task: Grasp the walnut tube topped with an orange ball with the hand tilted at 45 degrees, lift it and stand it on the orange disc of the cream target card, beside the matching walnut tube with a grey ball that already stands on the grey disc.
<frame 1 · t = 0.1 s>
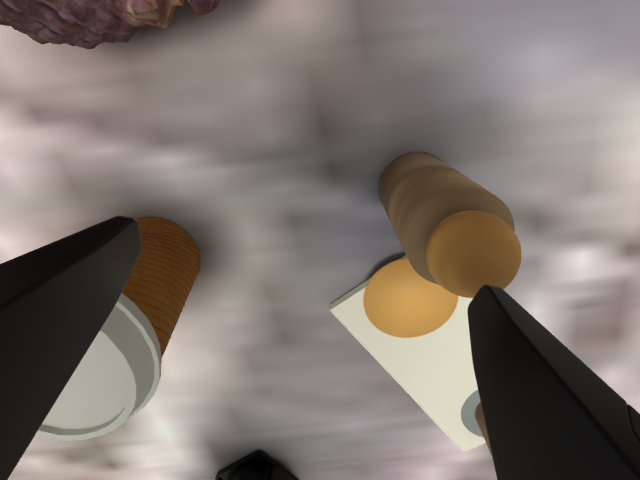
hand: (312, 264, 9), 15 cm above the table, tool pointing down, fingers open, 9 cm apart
target card: (456, 352, 30), on the table
orange ball tube: (413, 187, 24), on the table
disposable coffee cup: (160, 254, 27), on the table
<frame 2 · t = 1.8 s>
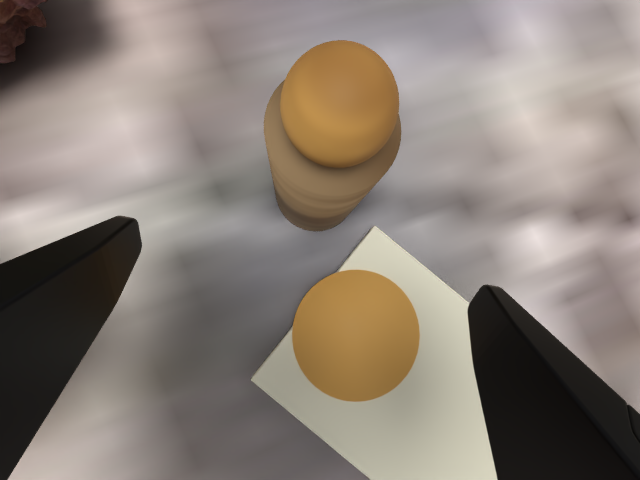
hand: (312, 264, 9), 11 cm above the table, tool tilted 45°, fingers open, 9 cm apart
target card: (453, 414, 20), on the table
orange ball tube: (315, 191, 21), on the table
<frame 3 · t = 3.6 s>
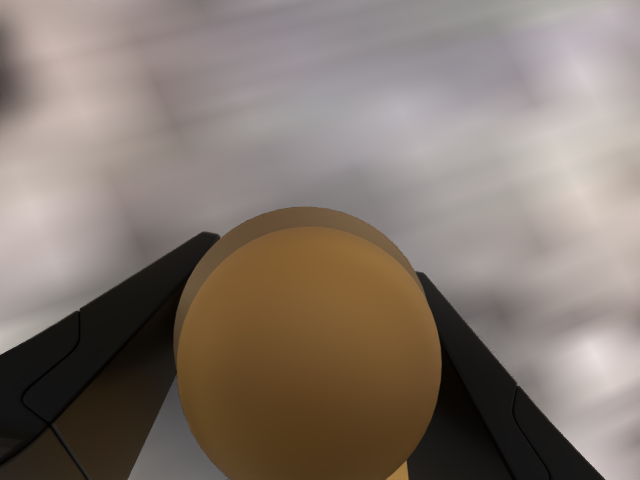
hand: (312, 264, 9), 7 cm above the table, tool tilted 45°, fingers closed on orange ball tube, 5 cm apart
orange ball tube: (298, 300, 15), on the table, touching gripper
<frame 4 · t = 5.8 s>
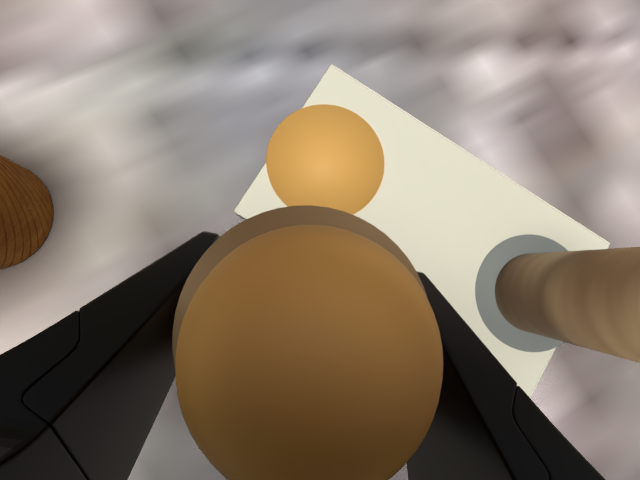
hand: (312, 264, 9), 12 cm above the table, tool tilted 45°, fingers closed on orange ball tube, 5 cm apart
grey ball tube: (532, 292, 21), point 1 cm above the table, touching target card
target card: (424, 229, 22), on the table
orange ball tube: (298, 299, 15), point 6 cm above the table, touching gripper
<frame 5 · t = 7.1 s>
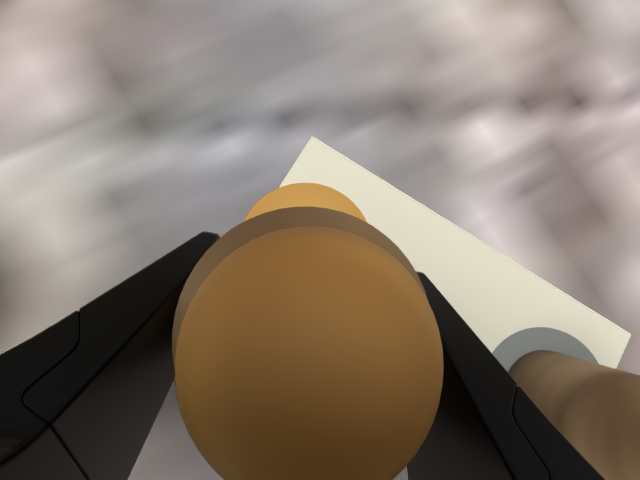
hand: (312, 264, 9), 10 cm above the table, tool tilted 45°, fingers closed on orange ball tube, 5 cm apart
grey ball tube: (545, 396, 18), point 1 cm above the table, touching target card
target card: (420, 320, 19), on the table
orange ball tube: (298, 300, 15), point 4 cm above the table, touching gripper
when the fingers open (9 cm above the table, at t = 8.0 s): orange ball tube drops 1 cm, resting on target card.
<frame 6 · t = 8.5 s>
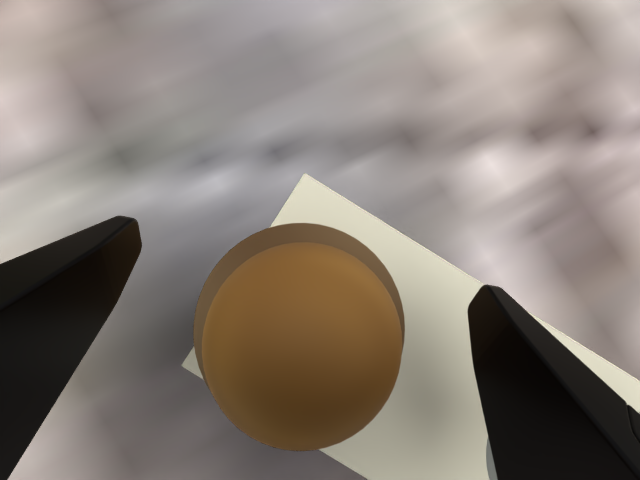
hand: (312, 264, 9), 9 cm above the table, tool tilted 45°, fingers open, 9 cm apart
target card: (421, 372, 18), on the table
orange ball tube: (297, 299, 17), point 1 cm above the table, touching target card
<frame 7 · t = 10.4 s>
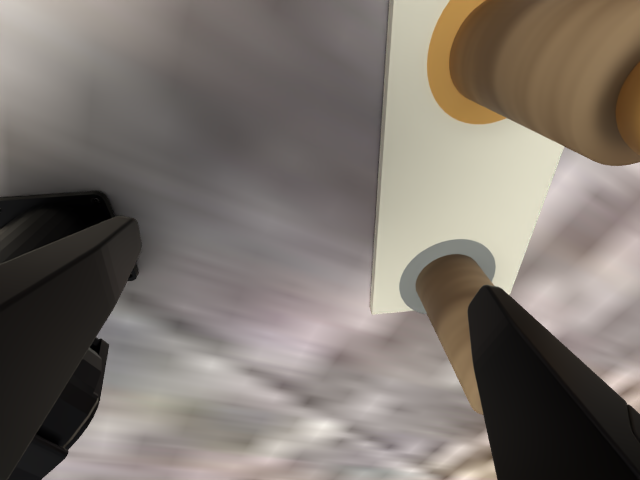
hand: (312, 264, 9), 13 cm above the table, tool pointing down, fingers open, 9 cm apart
grey ball tube: (447, 280, 26), point 1 cm above the table, touching target card
target card: (461, 182, 22), on the table
orange ball tube: (496, 51, 17), point 1 cm above the table, touching target card
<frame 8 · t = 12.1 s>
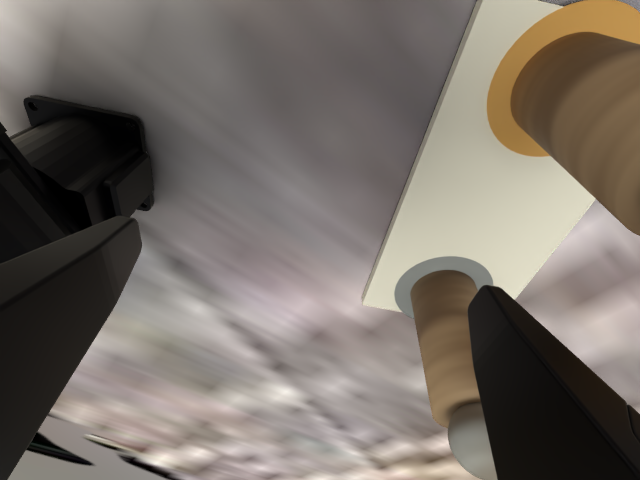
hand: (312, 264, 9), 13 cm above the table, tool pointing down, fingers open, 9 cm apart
grey ball tube: (442, 292, 26), point 1 cm above the table, touching target card
target card: (486, 204, 22), on the table
orange ball tube: (563, 88, 17), point 1 cm above the table, touching target card
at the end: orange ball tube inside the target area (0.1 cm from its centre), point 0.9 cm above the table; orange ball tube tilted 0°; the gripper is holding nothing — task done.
